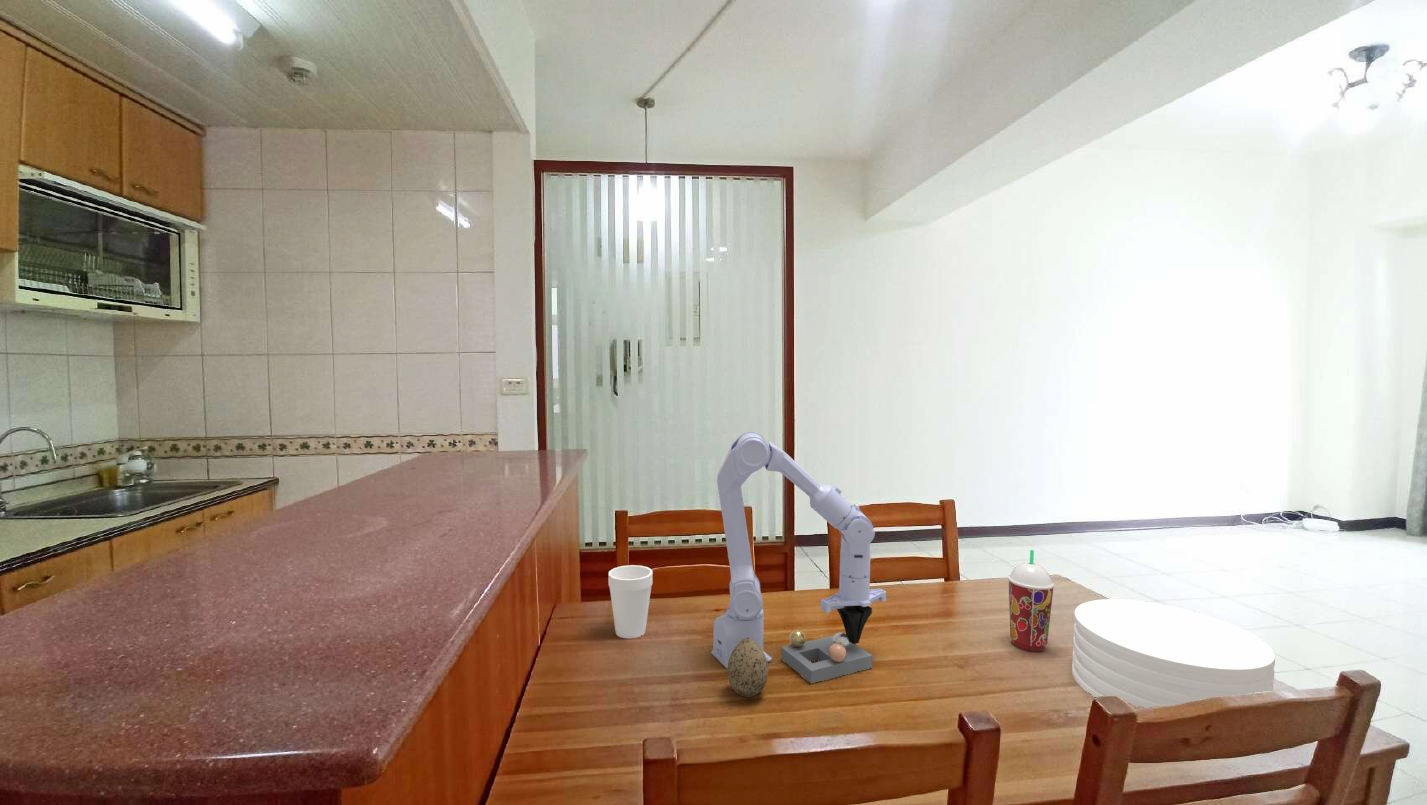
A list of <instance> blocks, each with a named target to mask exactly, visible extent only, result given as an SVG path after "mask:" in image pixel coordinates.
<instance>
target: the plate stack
mask: <svg viewBox="0 0 1427 805" xmlns="http://www.w3.org/2000/svg"><path fill="white" fill-rule="evenodd" d="M1073 621H1074V623H1073V638H1072V640H1073V642H1072V647H1073V649H1072V665H1071V674H1072V676H1073V678H1074V680H1075V681H1076V683H1077V684H1078V685H1079V686H1080V687H1081V688H1082V690H1084V691H1087V692H1086V693H1088V692H1089V693H1090V694H1092V695H1091V697H1093V698H1094V697H1098V696H1119V697H1121V698H1122V699H1124V700H1125V701H1128V702H1129V703H1131V704H1132V705H1134V706H1136V707H1138V706H1141V707H1144V708H1149V707H1154V706H1171V705H1175V704H1179V703H1184V702H1188V701H1196V700H1200V699H1205V698H1210V697H1215V696H1232V695H1239V694H1247V693H1255V692H1263V691H1273V692H1274V680H1275V666H1276V653H1275V651H1274V650H1273V648H1272V647H1271V646H1270V645H1269V644H1268V643H1267V642H1266V641H1264V640H1263V639H1261V638H1259V636H1257V635H1256V634H1254V633H1252V632H1249V631H1248V630H1245V629H1244V628H1241V627H1239V626H1237V625H1235V624H1233V623H1229V622H1227V621H1224V620H1222V619H1218V618H1216V617H1213V616H1210V615H1207V614H1203V613H1200V612H1196V611H1193V610H1189V609H1185V608H1181V607H1178V606H1177V607H1176V606H1174V605H1173V606H1172V605H1168V604H1167V605H1166V604H1162V603H1158V602H1151V601H1145V600H1144V601H1143V600H1134V599H1121V598H1120V599H1119V598H1117V599H1116V598H1113V599H1112V598H1106V599H1103V598H1102V599H1095V600H1090V601H1085V602H1083V603H1081V604H1079V605H1077V607H1076V608H1075V609H1074V620H1073ZM1089 693H1088V694H1089ZM1090 694H1089V695H1090Z"/></svg>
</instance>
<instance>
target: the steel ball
mask: <svg viewBox="0 0 1427 805" xmlns="http://www.w3.org/2000/svg"><path fill="white" fill-rule="evenodd" d="M833 635H834V637H833V644H836V643H838V644H841V645H842V646H844V648H845V649H846V648H847V647H848V646H849V638H848V636H847V635H846V633H844V632H837V633H835V634H833Z"/></svg>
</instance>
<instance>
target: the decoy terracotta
mask: <svg viewBox="0 0 1427 805" xmlns="http://www.w3.org/2000/svg"><path fill="white" fill-rule="evenodd" d="M829 656H830V658H831V659H832V660H833V661H835V662H841V661H843V660H844V659H845V657H846V650H845V648H844V646H842V645H841V644H838V643H836V644H833V645H831V647H830V648H829Z"/></svg>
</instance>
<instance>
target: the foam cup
mask: <svg viewBox="0 0 1427 805" xmlns="http://www.w3.org/2000/svg"><path fill="white" fill-rule="evenodd" d="M653 574H654V573H653V569H651V568H650V567H648V566H644V565H634V564H630V565H629V564H628V565H621V566H618V567H614V568H612V569H611V570H608V587H609V592H610V598H611V599H610V601H611V607H612V615H613V621H614V623H613V624H614V630H615V635H617V637H619V638H621V639H622V638H623V639H637V638H639V637H642V636H643V635H644V634H645V633H646V630H647V629H646V628H647V624H648V623H647V622H648V615H649V614H648V613H649V606H650V599H651V598H650V597H651V591H652V585H653V580H654V579H653ZM641 635H642V636H641Z"/></svg>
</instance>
